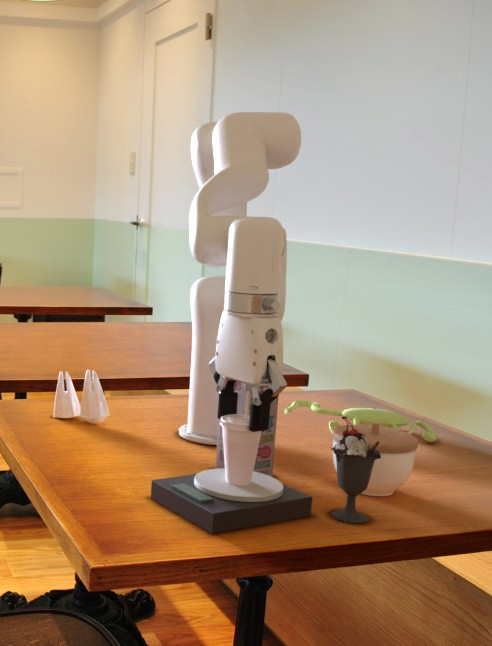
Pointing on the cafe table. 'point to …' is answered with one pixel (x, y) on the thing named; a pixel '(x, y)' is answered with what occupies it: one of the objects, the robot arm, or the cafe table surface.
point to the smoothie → (239, 447)
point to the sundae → (353, 470)
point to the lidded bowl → (385, 456)
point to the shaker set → (91, 403)
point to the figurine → (367, 418)
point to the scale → (230, 500)
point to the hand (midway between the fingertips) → (242, 423)
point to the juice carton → (266, 439)
